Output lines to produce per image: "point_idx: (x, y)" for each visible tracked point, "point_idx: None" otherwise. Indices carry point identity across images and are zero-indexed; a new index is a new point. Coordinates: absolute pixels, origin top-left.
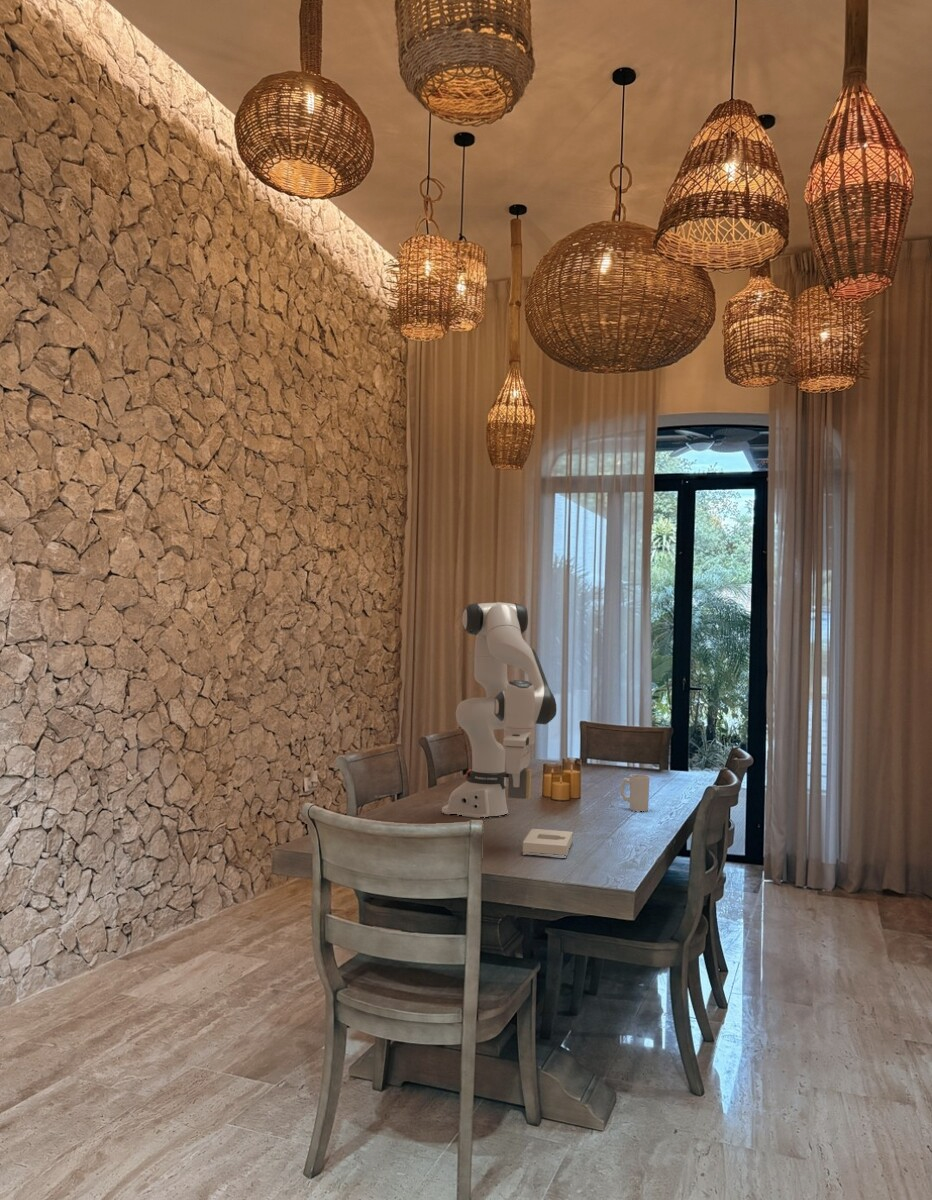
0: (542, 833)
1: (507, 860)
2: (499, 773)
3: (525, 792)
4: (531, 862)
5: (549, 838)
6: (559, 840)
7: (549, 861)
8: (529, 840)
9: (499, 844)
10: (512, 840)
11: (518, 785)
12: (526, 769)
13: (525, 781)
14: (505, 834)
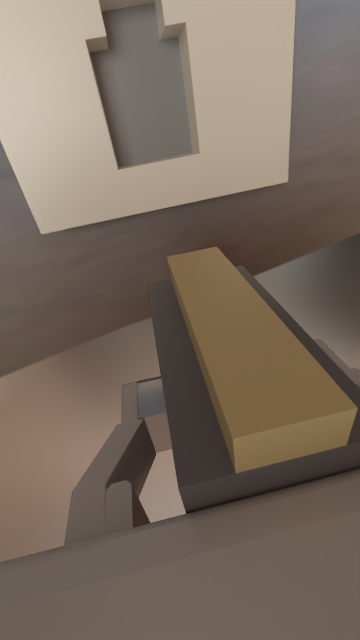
0: (98, 157)
1: (337, 199)
2: None
3: (259, 283)
4: (348, 110)
5: (104, 113)
6: (192, 10)
7: (323, 37)
8: (248, 167)
9: None
10: (94, 279)
11: (324, 349)
12: (293, 464)
13: (303, 334)
14: (34, 326)
